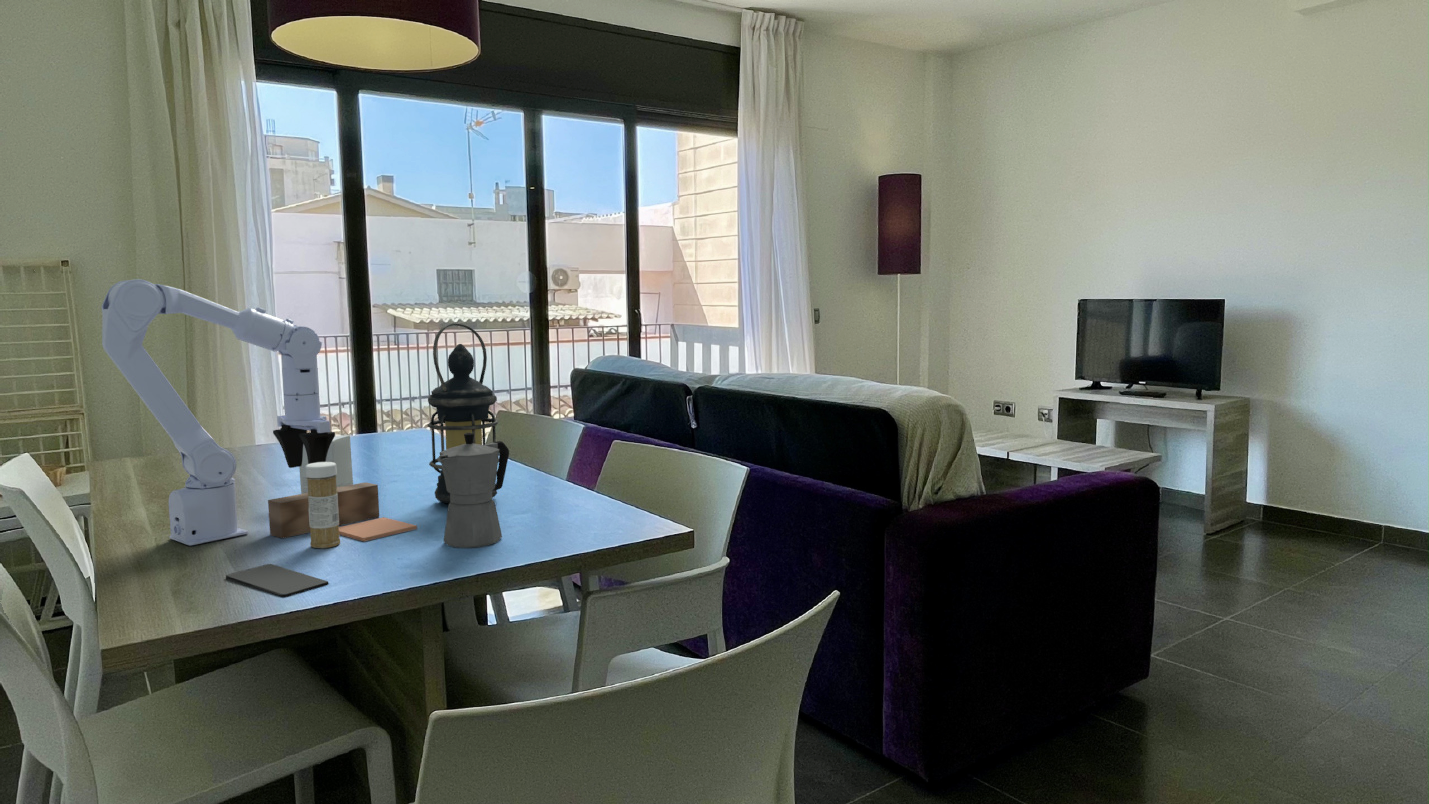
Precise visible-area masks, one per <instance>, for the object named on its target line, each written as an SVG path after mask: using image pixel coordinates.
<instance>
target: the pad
mask: <svg viewBox="0 0 1429 804" xmlns="http://www.w3.org/2000/svg"><path fill="white" fill-rule="evenodd" d="M417 529H418V525H417V524H414V523H413V524H411V523H409V522H408V523H407V522H405V521H400V520H396V519H393V518H390V517H389V518H388V517H384V516H382V517H377V518H373V519H368V520H364V521H359V522H355V523H350V524H346V525H341V526H339V536H343V537H348V538H349V539H353V540H358V541H361V542H368V541H371V540H376V539H380V538H385V537H388V536H393V535H396V534H397V535H398V534H402V533H405V532H409V531H413V530H417Z"/></svg>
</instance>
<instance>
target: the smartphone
mask: <svg viewBox="0 0 1429 804" xmlns="http://www.w3.org/2000/svg"><path fill="white" fill-rule="evenodd" d="M225 580H227V581H230V582H233V583H235V584H238V585H242V586H245V587H248V588H252V589H254V590H258V591H261V592H264V593H267V594H271V595H273V596H276V597H280V598H288V597H292V596H295V595H298V594H301V593H305V592H307V591H312V590H315V589H318V588H319V589H320V588H322V587H326V586H328V585H329V581H328V580H325V579H321V578H319V577H315V576H312V575H308V574H305V573H302V572H298V571H295V570H292V569H289V568H286V567H282V566H279V565H276V564H272V563H267V564H263V565H259V566H255V567H251V568H248V569H244V570H241V571H236V572H232V573H228V574H226V575H225Z"/></svg>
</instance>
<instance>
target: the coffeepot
mask: <svg viewBox="0 0 1429 804" xmlns="http://www.w3.org/2000/svg"><path fill="white" fill-rule="evenodd" d="M464 437H465V441H466V444H463V445H460V446H456V447H453V448H449V449H447V450H446V449H444V451H442V452H441V451H439V456H438V457H437V458H436V459H437V460H438V462H437V463H440V465H442V468H443V473H444V478H445V483H446V489H447V491H448V492H449V493H450V503H448V507H447V513H446V520H445V522H446V523H445V530H444V536H443V542H444V543H445V544H446V545H447V546H449V547H452V548H457V549H460V548H461V549H471V548H472V549H473V548H482V547H487V546H490V545H494V544H496V543H499V541H500V540H501V538H503V536H502V535H503V534H502V529H501V524H500V520H499V516H498V512H497V511H498V509H497V506H496V502H495V501H494V499H493V498H492V490H493V491H495V490H496V491H499V490H500V489H502V487H503V485H504V479H505V475H506V471H507V466H508V460H509V457H510V450H509V447H507V445H506V444H505V443H504V442H503V441H502V440H499V441H497V440H496V442H494V443H493V442H488V443H486V444H485V445H483V444H482V445H479V444H474V443H473V440H474V433H470V432H468V433H466V434H464ZM498 458H499V462H498Z"/></svg>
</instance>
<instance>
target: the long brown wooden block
mask: <svg viewBox="0 0 1429 804" xmlns="http://www.w3.org/2000/svg"><path fill="white" fill-rule="evenodd" d="M337 494H338V512H339V527H342V526H346V525H351V524H356V523H360V522H365V521H369V520H374V519H378V518H380V506H379V505H380V503H379V501H380V500H379V486H378V484H375V483H370V482H359V483H353V485H348V486H342V487H337ZM267 504H268V519H269V520H268V521H269V522H268V523H269V535H271V536H273V537H276V538H280V539H284V538H285V539H286V538H289V537H295V536H300V535H304V534H310V525H309V502H308V493H304V494H301V493H300V494H299V493H298V494H294V495H288V496H284V497H278V498H277V497H276V498H271V499H268V500H267Z"/></svg>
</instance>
